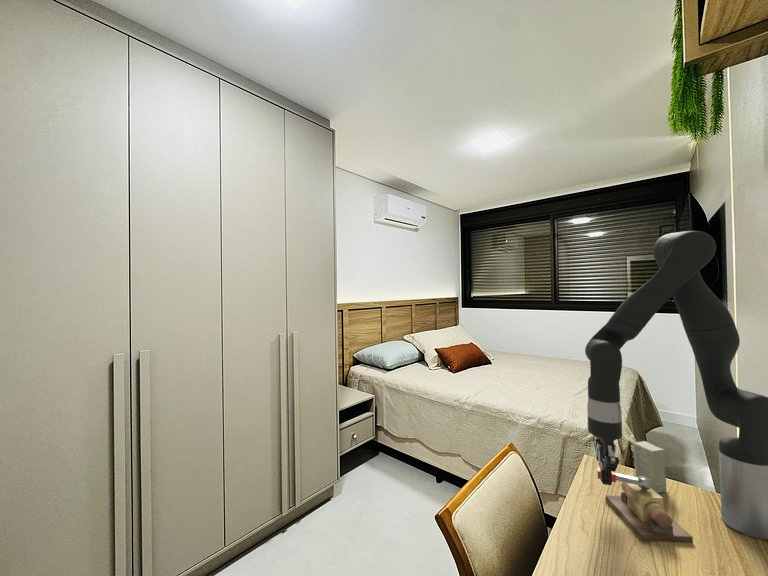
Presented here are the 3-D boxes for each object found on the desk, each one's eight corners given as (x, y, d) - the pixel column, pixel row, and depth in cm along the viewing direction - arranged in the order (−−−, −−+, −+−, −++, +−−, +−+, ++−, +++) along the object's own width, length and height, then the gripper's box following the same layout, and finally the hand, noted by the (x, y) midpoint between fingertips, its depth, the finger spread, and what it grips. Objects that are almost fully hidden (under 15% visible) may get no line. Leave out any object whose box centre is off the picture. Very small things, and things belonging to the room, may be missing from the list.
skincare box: (667, 492, 96) (665, 449, 96) (654, 494, 95) (652, 451, 95) (646, 480, 102) (645, 440, 102) (634, 481, 102) (632, 441, 102)
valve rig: (605, 500, 93) (604, 471, 93) (647, 502, 92) (646, 472, 92) (642, 541, 78) (640, 505, 78) (692, 543, 77) (691, 507, 77)
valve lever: (649, 485, 85) (649, 477, 86) (651, 490, 83) (651, 482, 83) (597, 473, 91) (597, 466, 91) (597, 478, 89) (597, 471, 89)
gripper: (631, 427, 80) (633, 500, 79) (612, 409, 92) (614, 472, 92) (595, 424, 82) (597, 495, 82) (581, 406, 95) (583, 468, 94)
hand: (606, 483), depth 87 cm, fingers closed
